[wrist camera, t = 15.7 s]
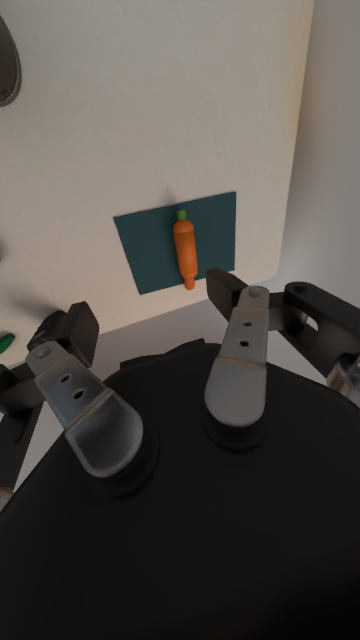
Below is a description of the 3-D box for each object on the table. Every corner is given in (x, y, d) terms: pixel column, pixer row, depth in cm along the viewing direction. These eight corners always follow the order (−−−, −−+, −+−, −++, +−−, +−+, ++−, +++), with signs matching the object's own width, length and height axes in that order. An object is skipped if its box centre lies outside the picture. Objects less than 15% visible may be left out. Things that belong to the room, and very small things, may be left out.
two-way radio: (61, 306, 39) (32, 355, 27) (77, 319, 41) (57, 369, 30) (41, 319, 39) (4, 372, 27) (58, 331, 42) (31, 385, 30)
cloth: (113, 217, 32) (113, 218, 32) (235, 191, 35) (236, 191, 34) (139, 294, 42) (139, 295, 41) (233, 269, 44) (234, 270, 44)
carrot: (167, 211, 33) (172, 212, 30) (187, 207, 34) (194, 208, 31) (181, 289, 43) (186, 296, 40) (196, 285, 44) (202, 292, 41)
